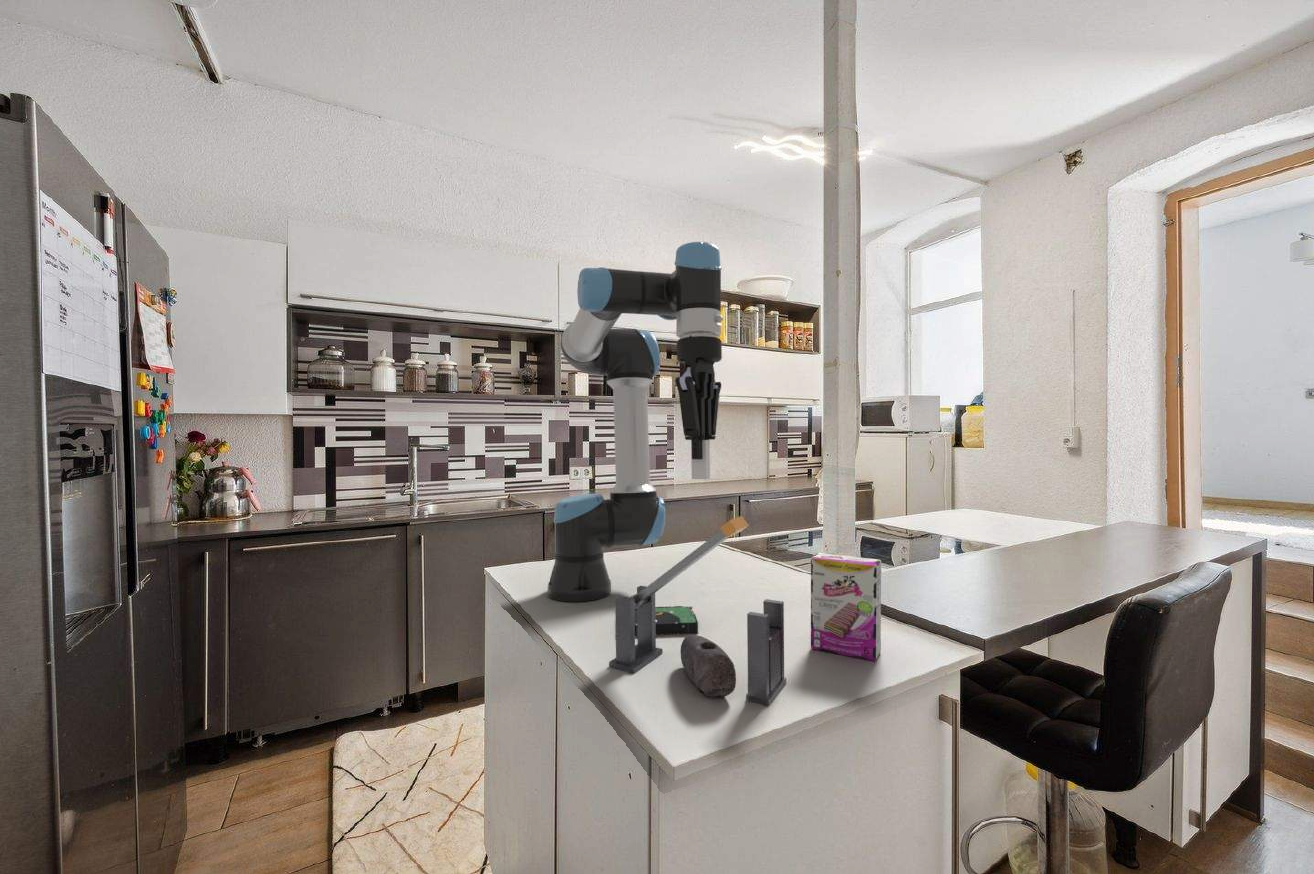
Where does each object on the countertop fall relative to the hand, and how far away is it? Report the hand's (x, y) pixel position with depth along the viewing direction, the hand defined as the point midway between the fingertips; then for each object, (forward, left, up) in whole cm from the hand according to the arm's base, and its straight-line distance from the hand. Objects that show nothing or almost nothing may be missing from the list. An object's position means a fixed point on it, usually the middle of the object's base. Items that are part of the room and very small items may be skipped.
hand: (700, 478), depth 92 cm
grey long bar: (+5, 0, -15) cm, 15 cm away
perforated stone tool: (+7, +3, -31) cm, 32 cm away
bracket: (+5, -10, -31) cm, 33 cm away
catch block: (+5, +13, -31) cm, 34 cm away
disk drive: (-11, -15, -32) cm, 37 cm away
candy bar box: (-16, +20, -31) cm, 40 cm away
